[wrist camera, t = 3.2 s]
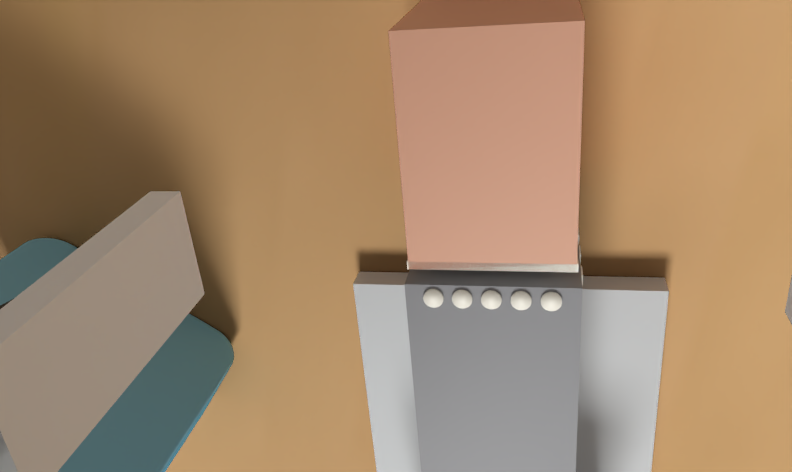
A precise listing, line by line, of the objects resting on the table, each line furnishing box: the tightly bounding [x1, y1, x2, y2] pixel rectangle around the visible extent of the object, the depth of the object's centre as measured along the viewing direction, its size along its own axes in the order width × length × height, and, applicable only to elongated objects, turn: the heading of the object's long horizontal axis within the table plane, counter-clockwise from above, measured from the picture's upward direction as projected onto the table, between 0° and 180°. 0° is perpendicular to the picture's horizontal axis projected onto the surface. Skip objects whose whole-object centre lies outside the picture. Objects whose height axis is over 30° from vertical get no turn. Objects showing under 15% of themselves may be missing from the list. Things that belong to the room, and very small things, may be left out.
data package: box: [0, 238, 234, 472], centre depth 33 cm, size 12×4×12 cm, turn 60°
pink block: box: [388, 0, 585, 272], centre depth 25 cm, size 6×8×8 cm
